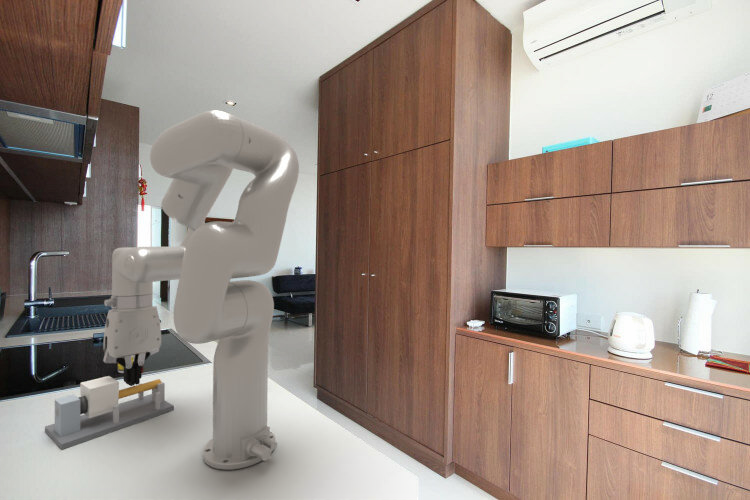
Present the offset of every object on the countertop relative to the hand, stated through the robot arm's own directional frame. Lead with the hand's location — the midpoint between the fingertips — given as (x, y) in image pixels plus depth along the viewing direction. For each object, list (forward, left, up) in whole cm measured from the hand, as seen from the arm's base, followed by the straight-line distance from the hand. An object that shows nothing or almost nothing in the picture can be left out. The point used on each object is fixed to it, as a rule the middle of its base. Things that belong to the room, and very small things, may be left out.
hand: (132, 383), depth 80 cm
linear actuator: (0, +4, -7) cm, 8 cm away
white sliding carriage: (0, +6, -4) cm, 7 cm away
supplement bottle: (+32, -11, -7) cm, 35 cm away
